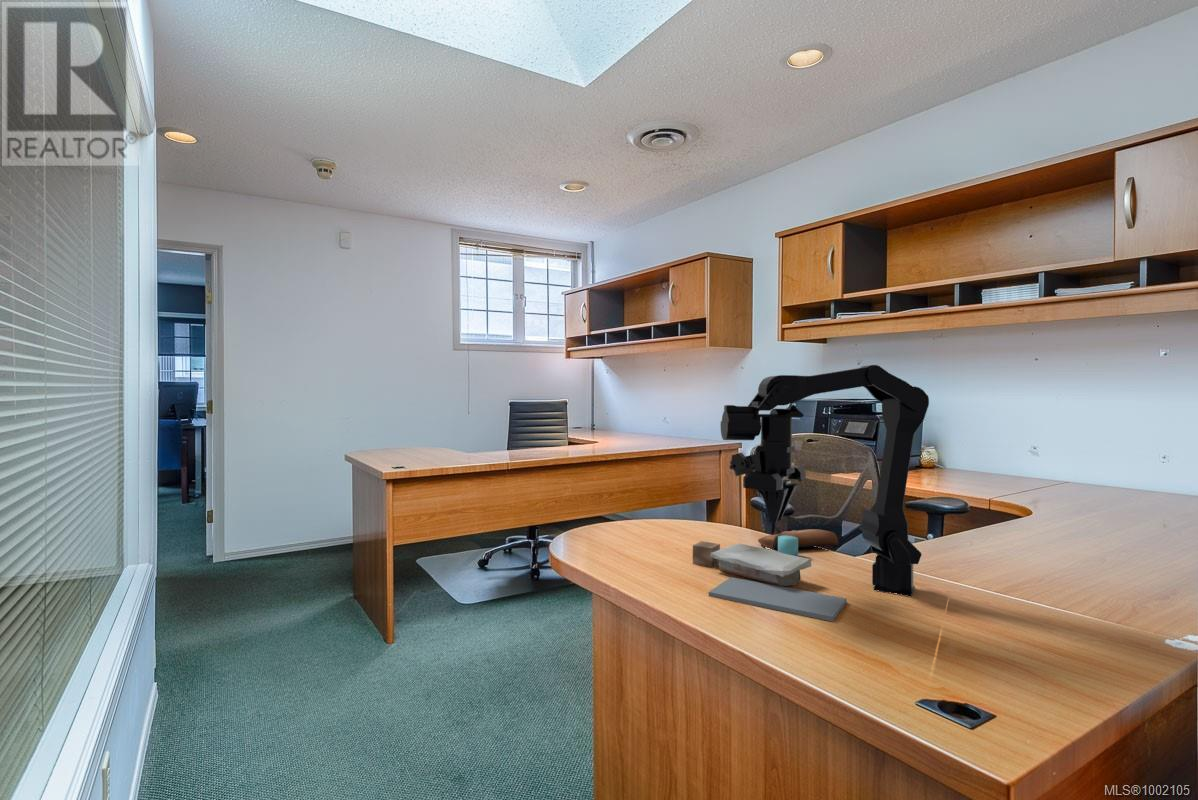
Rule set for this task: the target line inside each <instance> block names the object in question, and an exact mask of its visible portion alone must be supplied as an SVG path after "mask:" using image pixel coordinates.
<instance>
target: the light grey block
mask: <svg viewBox="0 0 1198 800" xmlns="http://www.w3.org/2000/svg"><path fill="white" fill-rule="evenodd" d="M710 557H711V558H715V559H717V562H718V564H717V565H718V569H719V570H720V571H721V572H725V573H729V574H731V575H737V576H740V577H744V578H748V579H751V580H754V581H757V582H761V583H765V584H771V585H776V586H782V587H789V586H790V585H794V584H795V585H797V583H800V581H801V578H802V576H801V571H802V570H806V569H808V568H811V567H812V560H811V558H807V557H801V556H799V555H798V556H793V555H788V554H784V553H781V552H778V551H776V550H771V549H766V548H764V547H758V546H753V545H748V544H745V543H740V542H738V543H734V544H730V545H729V546H726V547H723V548H720V550H718V551H715V552H712V553H711V554H710ZM795 585H794V586H795Z"/></svg>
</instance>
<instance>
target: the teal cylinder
mask: <svg viewBox="0 0 1198 800" xmlns="http://www.w3.org/2000/svg"><path fill="white" fill-rule="evenodd" d="M778 552H781V553H784V554H788V555H793V556H798V557H799V547H798V538H797V537H794V536H786V535H784V536H778Z"/></svg>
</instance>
